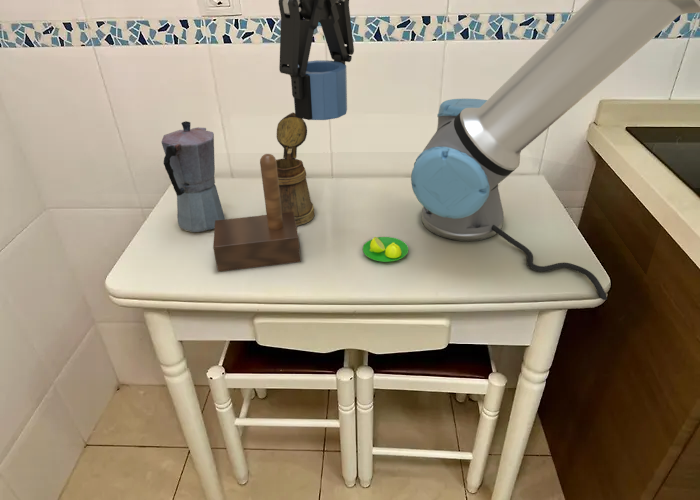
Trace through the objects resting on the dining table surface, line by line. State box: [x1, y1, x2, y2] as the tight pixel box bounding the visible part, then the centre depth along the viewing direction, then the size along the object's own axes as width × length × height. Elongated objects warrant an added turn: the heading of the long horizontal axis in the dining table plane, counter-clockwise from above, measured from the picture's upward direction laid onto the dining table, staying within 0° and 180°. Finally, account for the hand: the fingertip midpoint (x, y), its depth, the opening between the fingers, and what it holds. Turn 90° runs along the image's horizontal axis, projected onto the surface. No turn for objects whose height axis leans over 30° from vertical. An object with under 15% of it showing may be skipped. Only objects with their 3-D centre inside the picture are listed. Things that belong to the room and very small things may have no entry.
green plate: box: [362, 236, 409, 263], centre depth 91 cm, size 8×8×3 cm
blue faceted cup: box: [293, 59, 348, 121], centre depth 82 cm, size 8×8×7 cm
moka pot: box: [161, 120, 226, 233], centre depth 96 cm, size 10×15×20 cm, turn 173°
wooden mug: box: [276, 111, 315, 227], centre depth 100 cm, size 9×14×18 cm, turn 174°
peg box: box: [212, 153, 301, 273], centre depth 87 cm, size 14×9×18 cm, turn 100°
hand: (321, 109), depth 83 cm, fingers closed on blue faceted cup, 8 cm apart
